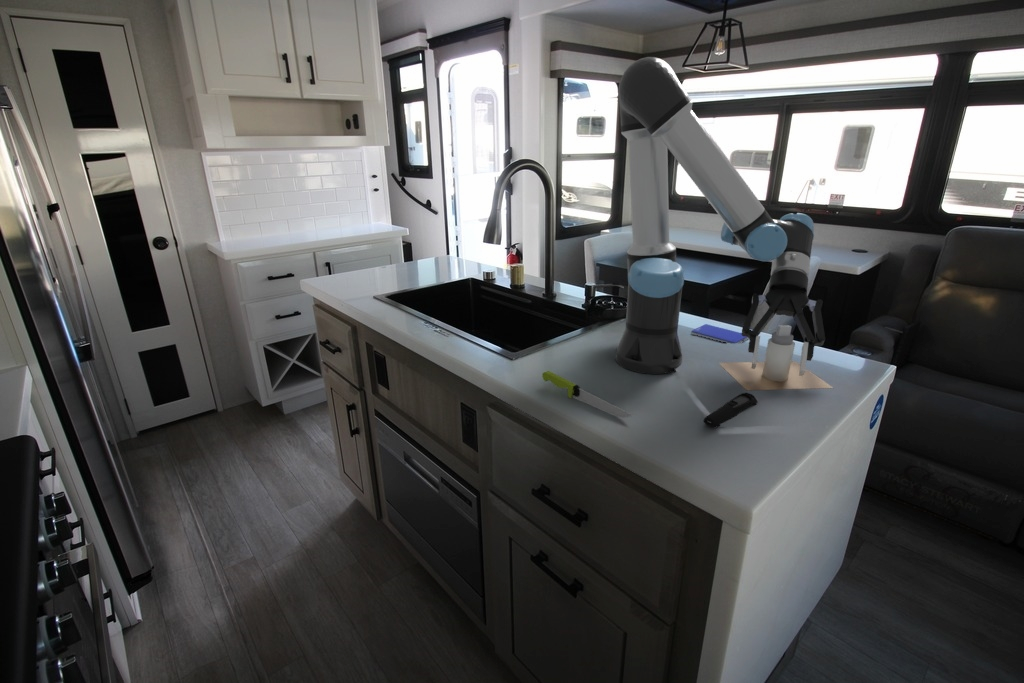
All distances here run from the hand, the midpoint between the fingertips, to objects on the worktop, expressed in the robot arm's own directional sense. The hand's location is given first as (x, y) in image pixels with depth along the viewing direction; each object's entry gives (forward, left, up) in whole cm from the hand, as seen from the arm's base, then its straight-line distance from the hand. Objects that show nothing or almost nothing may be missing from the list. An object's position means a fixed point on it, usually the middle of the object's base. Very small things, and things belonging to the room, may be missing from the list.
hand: (777, 369), depth 106 cm
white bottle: (+2, +3, -3) cm, 5 cm away
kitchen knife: (-41, -5, -4) cm, 41 cm away
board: (+2, +4, -4) cm, 6 cm away
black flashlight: (-14, -12, -4) cm, 19 cm away
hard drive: (+2, +31, -5) cm, 32 cm away
